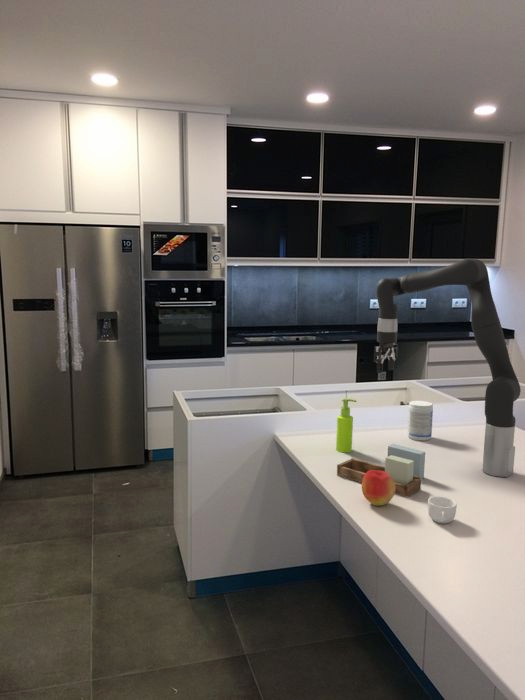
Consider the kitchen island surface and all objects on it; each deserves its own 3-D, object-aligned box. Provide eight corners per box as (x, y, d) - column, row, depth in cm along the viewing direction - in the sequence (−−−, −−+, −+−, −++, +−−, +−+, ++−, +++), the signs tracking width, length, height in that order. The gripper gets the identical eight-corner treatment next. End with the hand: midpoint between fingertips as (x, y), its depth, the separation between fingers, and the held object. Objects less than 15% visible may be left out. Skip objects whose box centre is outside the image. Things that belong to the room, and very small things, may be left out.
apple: (370, 512, 163) (371, 478, 161) (356, 499, 172) (357, 467, 170) (400, 508, 165) (401, 476, 164) (384, 496, 175) (386, 464, 173)
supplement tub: (435, 441, 231) (437, 405, 228) (412, 441, 229) (414, 406, 227) (425, 434, 240) (427, 400, 238) (403, 434, 239) (405, 400, 237)
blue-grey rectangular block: (423, 477, 191) (425, 451, 189) (418, 480, 188) (420, 454, 187) (391, 468, 199) (393, 443, 197) (386, 471, 196) (387, 446, 195)
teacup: (426, 512, 163) (427, 494, 163) (454, 515, 162) (455, 497, 161) (427, 528, 154) (428, 509, 153) (457, 531, 152) (458, 512, 151)
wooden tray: (420, 489, 180) (421, 477, 180) (407, 497, 174) (408, 484, 173) (350, 468, 197) (351, 457, 197) (336, 475, 191) (337, 463, 191)
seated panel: (412, 488, 179) (413, 461, 178) (406, 491, 177) (408, 463, 175) (389, 481, 185) (391, 455, 183) (384, 484, 182) (385, 457, 181)
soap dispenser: (355, 452, 215) (357, 401, 212) (337, 452, 215) (338, 400, 212) (353, 447, 220) (355, 397, 217) (335, 447, 221) (337, 397, 218)
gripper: (386, 332, 212) (384, 375, 214) (405, 329, 222) (402, 370, 224) (369, 330, 216) (367, 372, 219) (387, 328, 227) (386, 367, 229)
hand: (385, 371), depth 222 cm, fingers open, 8 cm apart
